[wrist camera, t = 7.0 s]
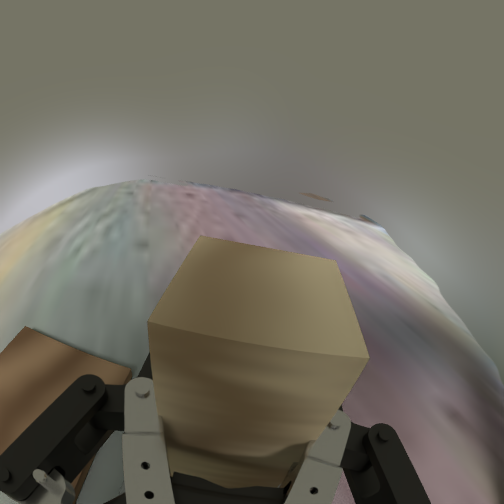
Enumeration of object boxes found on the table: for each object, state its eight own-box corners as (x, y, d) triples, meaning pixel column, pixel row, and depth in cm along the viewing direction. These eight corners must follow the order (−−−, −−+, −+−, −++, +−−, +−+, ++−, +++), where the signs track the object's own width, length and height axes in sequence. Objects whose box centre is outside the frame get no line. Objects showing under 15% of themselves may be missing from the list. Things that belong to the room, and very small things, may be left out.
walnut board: (132, 376, 21) (131, 368, 20) (68, 520, 8) (62, 517, 8) (28, 333, 21) (25, 325, 20) (-48, 432, 8) (-54, 425, 8)
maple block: (269, 430, 16) (335, 260, 10) (265, 500, 11) (369, 358, 6) (190, 416, 16) (200, 235, 10) (171, 484, 11) (147, 320, 6)
